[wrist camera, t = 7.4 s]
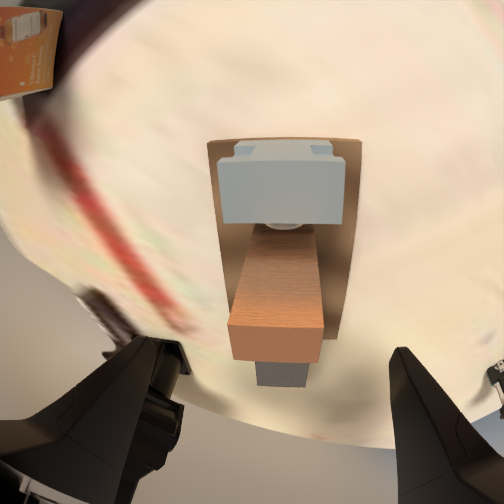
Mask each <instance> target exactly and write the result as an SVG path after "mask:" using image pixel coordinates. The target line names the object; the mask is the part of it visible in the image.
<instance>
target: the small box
mask: <svg viewBox="0 0 504 504" xmlns="http://www.w3.org/2000/svg"><path fill="white" fill-rule="evenodd" d="M62 16H63V12H62V11H58V10H51V9H42V8H31V7H3V6H0V101H3V100H7V99H12V98H16V97H20V96H24V95H27V94H31V93H35V92H39V91H43V90H47V89H51V88H52V87H53V70H54V60H55V52H56V45H57V39H58V33H59V28H60V23H61V20H62Z"/></svg>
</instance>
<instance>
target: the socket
mask: <svg viewBox="0 0 504 504" xmlns="http://www.w3.org/2000/svg"><path fill="white" fill-rule="evenodd" d="M234 153H235V155H234V156H233V157H227V158H221V159H220V160H219V161H218V162H217V170H218V179H219V188H220V197H221V206H222V214H223V222H224V223H290V224H342V214H343V201H344V185H345V165H346V162H345V160H344V159H343V158H342V157H334V155H333V145H332V144H331V143H330V142H329V140H250V141H239V142H238V143H237V144H236V145H235V146H234Z"/></svg>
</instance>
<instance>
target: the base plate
mask: <svg viewBox="0 0 504 504" xmlns="http://www.w3.org/2000/svg"><path fill="white" fill-rule="evenodd" d="M250 140H329V142H330V143H331V144H332V145H333V155H334V157H342V158H343V159H344V160H345V162H346V165H345V185H344V201H343V214H342V224H313V228H314V235H315V243H316V251H317V260H318V269H319V278H320V288H321V298H322V310H323V322H324V331H323V337H322V339H337V335H338V330H339V325H340V320H341V315H342V310H343V305H344V300H345V294H346V289H347V283H348V277H349V271H350V264H351V257H352V250H353V243H354V235H355V226H356V217H357V207H358V196H359V184H360V169H361V149H362V142H361V141H359V140H356V139H339V138H309V137H276V138H246V139H229V140H215V141H210V142H208V143H207V148H208V157H209V166H210V175H211V183H212V191H213V199H214V207H215V215H216V222H217V230H218V237H219V244H220V251H221V258H222V265H223V272H224V279H225V285H226V292H227V298H228V305H229V311H230V313H231V309H232V306H233V302H234V298H235V295H236V291H237V287H238V284H239V280H240V276H241V273H242V269H243V266H244V262H245V258H246V255H247V251H248V247H249V244H250V240H251V237H252V233H253V229H254V226H255V223H224V222H223V214H222V206H221V197H220V188H219V179H218V170H217V162H218V161H219V160H220V159H221V158H227V157H233V156H234V155H235V153H234V146H235V145H236V144H237V143H238V142H239V141H250Z"/></svg>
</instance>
